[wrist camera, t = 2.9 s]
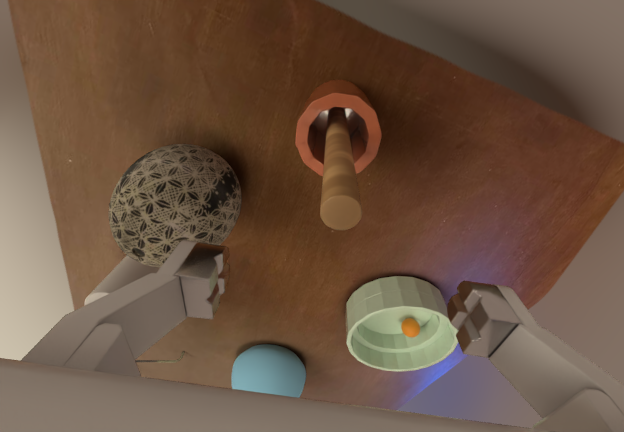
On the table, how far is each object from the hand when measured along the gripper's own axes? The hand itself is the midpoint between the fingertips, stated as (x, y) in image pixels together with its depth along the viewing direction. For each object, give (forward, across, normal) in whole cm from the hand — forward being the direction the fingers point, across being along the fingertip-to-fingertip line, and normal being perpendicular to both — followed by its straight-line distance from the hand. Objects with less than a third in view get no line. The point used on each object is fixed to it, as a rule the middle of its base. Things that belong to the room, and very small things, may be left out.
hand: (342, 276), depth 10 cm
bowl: (+25, -15, +30) cm, 41 cm away
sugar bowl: (+25, +4, +52) cm, 57 cm away
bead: (+22, -18, +31) cm, 43 cm away
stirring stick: (+24, 0, 0) cm, 24 cm away
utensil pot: (+25, 0, 0) cm, 25 cm away
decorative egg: (+25, +15, +10) cm, 31 cm away
